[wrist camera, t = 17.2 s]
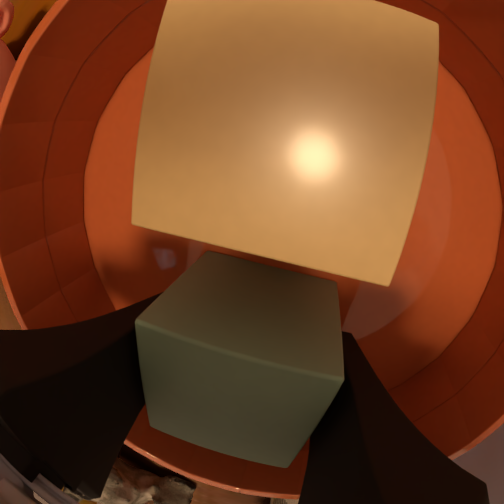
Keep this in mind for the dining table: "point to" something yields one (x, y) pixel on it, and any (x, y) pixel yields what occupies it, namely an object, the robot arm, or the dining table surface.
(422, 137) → the block
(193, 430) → the block
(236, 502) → the dining table surface
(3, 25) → the teapot
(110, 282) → the bowl
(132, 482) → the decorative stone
